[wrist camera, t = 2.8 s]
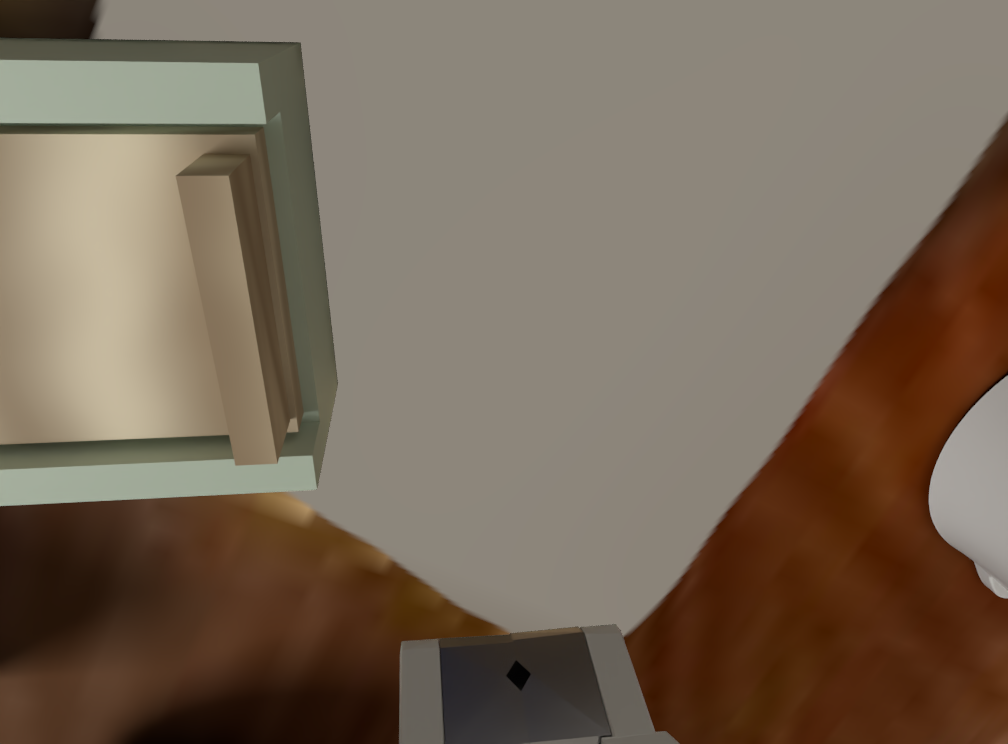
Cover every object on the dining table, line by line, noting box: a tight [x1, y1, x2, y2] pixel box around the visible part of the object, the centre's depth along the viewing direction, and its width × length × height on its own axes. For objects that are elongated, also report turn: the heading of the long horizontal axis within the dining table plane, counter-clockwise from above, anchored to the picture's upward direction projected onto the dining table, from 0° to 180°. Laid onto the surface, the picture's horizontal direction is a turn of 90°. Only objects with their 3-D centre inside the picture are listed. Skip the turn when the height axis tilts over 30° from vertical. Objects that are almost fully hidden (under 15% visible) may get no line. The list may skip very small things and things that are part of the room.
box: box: [0, 38, 338, 506], centre depth 22 cm, size 16×13×7 cm
